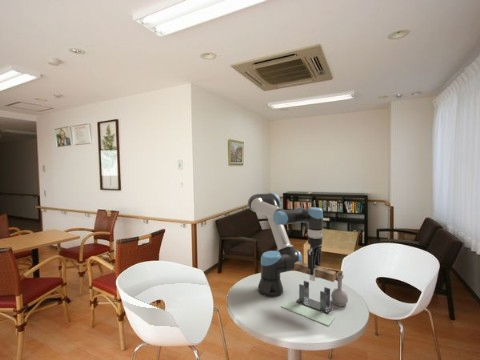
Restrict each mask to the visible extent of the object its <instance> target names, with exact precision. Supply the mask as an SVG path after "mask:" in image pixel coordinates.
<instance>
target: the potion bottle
mask: <svg viewBox="0 0 480 360" xmlns="http://www.w3.org/2000/svg"><path fill="white" fill-rule="evenodd" d="M343 273H344V272H343V270H339V271H337V273H336V279H337V287H336V288H334V289H333V290H332V292H331V293H330V299H331V300H332V303H333V304H334V305H335V306H337V307H345V306H346V305H347V304H348V301H349V297H348V293H347V291H346V290H345V289H343V279H344V274H343Z"/></svg>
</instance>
